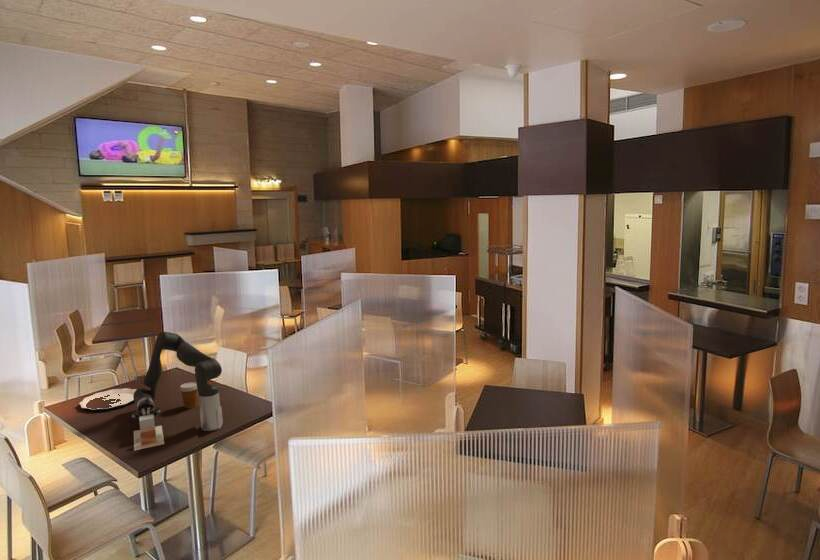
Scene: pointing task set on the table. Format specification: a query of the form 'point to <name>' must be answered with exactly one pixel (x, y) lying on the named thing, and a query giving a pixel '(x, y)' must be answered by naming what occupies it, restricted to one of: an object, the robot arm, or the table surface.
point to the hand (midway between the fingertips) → (146, 419)
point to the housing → (158, 442)
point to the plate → (125, 398)
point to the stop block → (148, 436)
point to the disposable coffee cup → (189, 394)
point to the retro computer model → (146, 422)
